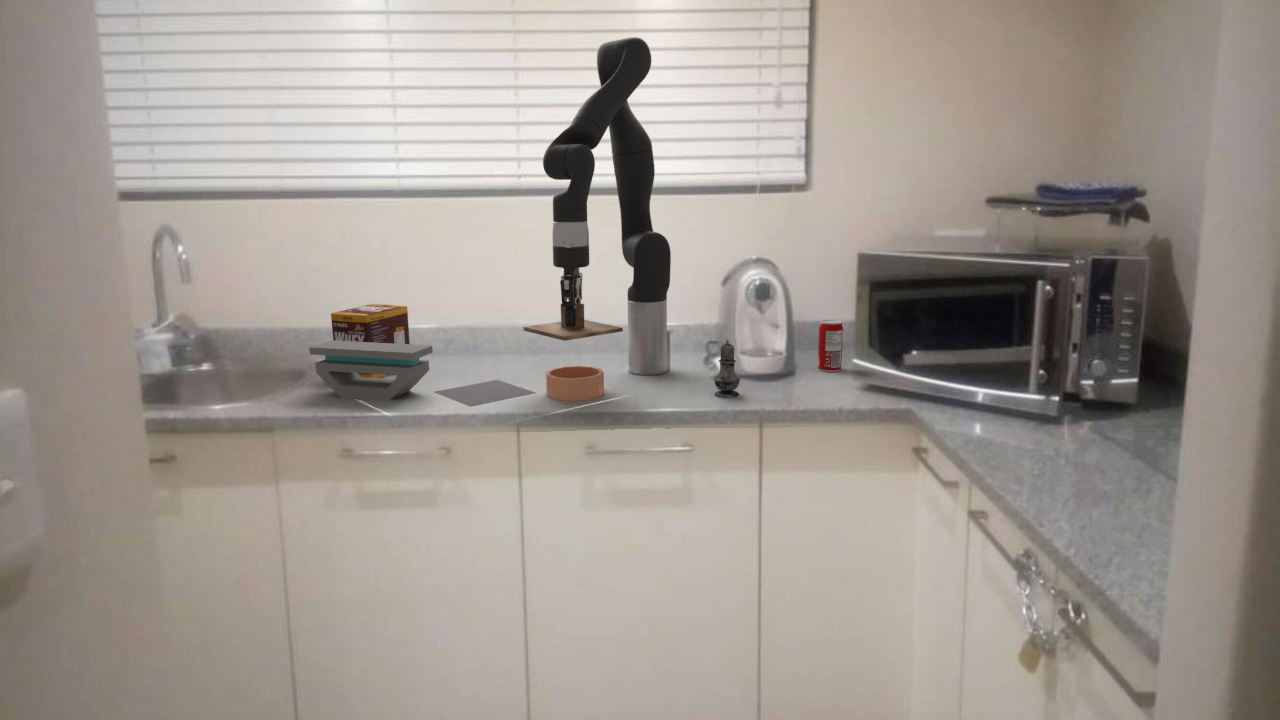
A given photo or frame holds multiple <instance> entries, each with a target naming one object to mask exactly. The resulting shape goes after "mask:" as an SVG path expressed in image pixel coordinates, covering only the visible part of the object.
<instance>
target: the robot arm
mask: <svg viewBox="0 0 1280 720" xmlns="http://www.w3.org/2000/svg"><path fill="white" fill-rule="evenodd" d="M651 66H652V52H651V50H650V47H649V45H648V44H647V42H646V41H645V40H644V39H643V38H640V37H638V36H637V37H635V36H634V37H633V36H632V37H627V38H625V37H624V38H621V39H616V40H610V41H606V42H602V44H600V45H599V47H598V49H597V51H596V69H597V75H598V80H599V83H600V84H599V85H600V88H598V89H597V90H596V91H594V93H592V94H591V95H590V96H589V97H588V98H587V99H586V100H585V101H584V102H583V103H582V104H581V105H580V107H579V109H578V110H577V112H576V114H575V116H574V117H573V119H572V121H571V122H570V124H569V126H568V127H566V129H564V130H562V132H561V133H560V134H559V135H557V137H556V138H554V140H552V142H550V144H549V145H548V146H547V148H546V150H545V152H544V154H543V157H542V167H543V169H544V172H545V174H546V175H547V177H548V178H550V179H552V180H558V181H561V180H562V181H564V180H565V181H567V180H569V181H570V182H569V185H568V187H567V190H564V191H561V192H558V193H555V194H554V195H553V197H552V218H553V219H552V222H553V223H552V264H553V266H554V267H556V268H558V269H559V268H560V269H561V268H562V269H563V275H562V276H560V282H559V284H560V295H561V304H562V307H563V308H564V309H565V326H566V327H575V326H576V303H581V304H582V300H583V273H582V272H580V268H588V267H589V265H590V234H589V233H590V231H589V227H588V226H589V224H588V199H589V194H590V190H591V185H592V182H593V177H594V174H595V168H596V167H595V166H596V161H595V156H594V154H593V151H592V150H594V149H596V148H597V147H598V145H599V144H600V142H601V140H602V139H603V137H604V135H605V134H606V131H607V130H609V137H610V144H611V145H610V147H611V154H612V155H611V156H612V163H613V169H614V172H613V173H614V175H615V176H614V177H615V183H616V190H617V198H618V204H619V210H620V222H621V223H620V225H621V251H622V256H623V259H624V260H625V262H626V263H627V265H629V266H630V267H631V268H633V274H632V275H633V281H632V283H631V285H630V286H629V287H628V289H627V340H628V341H627V342H628V343H627V344H628V345H627V346H628V347H627V348H628V352H627V354H628V372H630V373H631V374H635V375H643V376H644V375H645V376H648V375H649V376H650V375H652V376H653V375H661V374H664V373H666V372H667V371H670V370H671V332H670V330H668V321H667V320H668V317H667V316H668V307H667V306H668V303H667V302H668V299H667V298H668V291H669V288H670V284H671V264H672V263H671V262H672V256H671V254H672V253H671V246H670V244H669V241H668V239H667V238H666V237H665V236H664V235H663V234H661V233H659V232H655V231H654V228H653V223H652V217H651V207H650V204H651V199H652V192H653V186H654V181H655V160H654V152H653V144H652V139H650V136H649V134H648V133H647V131H646V130H645V129H644V126H642V124H641V122H640V121H639V120H638V119H637V117H636V115H635V114H634V112H633V111H632V109H631V107H630V104H629V101H628V99H629V98H630V96H631V95H632V94H633V93H634V92H635V91H636V89H638V87H639V86H640V85H641V84H642V82H644V80H645V78H646V77H647V75H648V74H649V73H650V69H651Z"/></svg>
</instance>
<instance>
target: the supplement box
mask: <svg viewBox="0 0 1280 720" xmlns="http://www.w3.org/2000/svg"><path fill="white" fill-rule="evenodd" d="M408 313H409V312H408V306H407V305H396V304H380V303H371V304H365V305H362V306H358V307H353V308H349V309H344V310H341V311H335V312H331V313H330V317H331V329H332V340H334V341H353V342H373V343H392V344H410V343H411V342H410V329H409V327H410V326H409V314H408ZM358 374H359V375H360V376H361V377H365V378H380V379H383V378H384V377H387V376H388V375H383V374H367V373H358Z"/></svg>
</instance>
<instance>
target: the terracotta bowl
mask: <svg viewBox="0 0 1280 720" xmlns="http://www.w3.org/2000/svg"><path fill="white" fill-rule="evenodd" d="M604 376H605V375H604V371H603V369H602V368H598V367H595V366H589V365H588V366H587V365H570V366H569V365H567V366H566V365H565V366H560V367H554V368H551V369H549V370H547V371H545V388H546V391H545V392H546V396H547V398H551V399H553V400H556V401H568V402H577V401H588V400H592V399H597V398H600V396H602V395H604V394H605V385H604V384H605V380H604Z"/></svg>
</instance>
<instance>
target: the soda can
mask: <svg viewBox="0 0 1280 720" xmlns="http://www.w3.org/2000/svg"><path fill="white" fill-rule="evenodd" d="M842 323H843V321H842V320H838V319H821V320H820V324H819V326H818V345H817V346H818V348H817V350H818V351H817V368H818V370H819V371H821V372H825V373H835V372H839V371H840V370H841V369H842V357H843V337H844V327H843V324H842Z"/></svg>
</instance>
